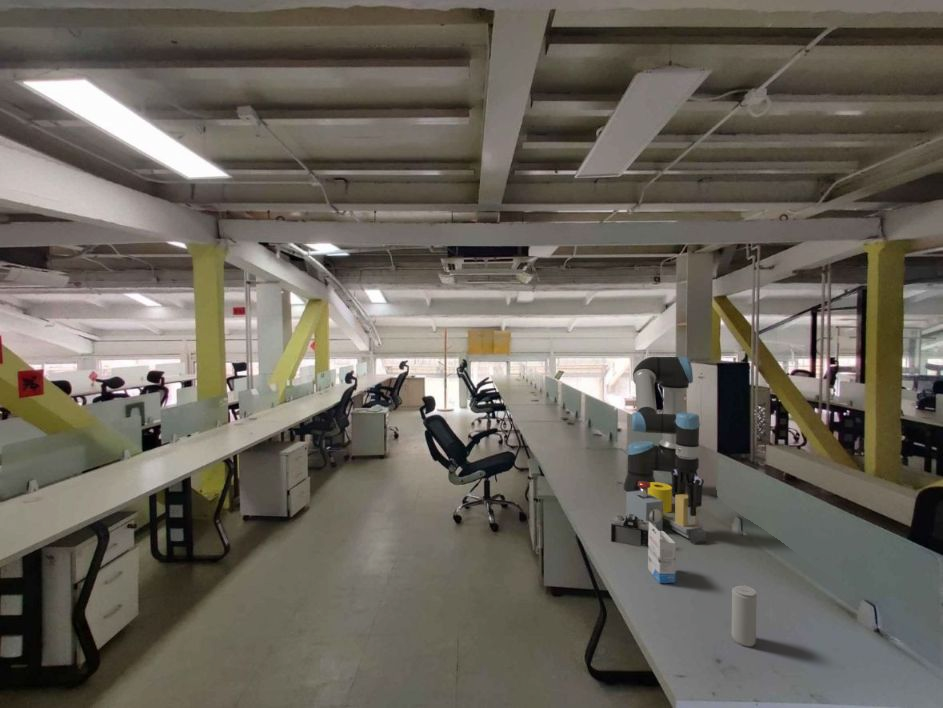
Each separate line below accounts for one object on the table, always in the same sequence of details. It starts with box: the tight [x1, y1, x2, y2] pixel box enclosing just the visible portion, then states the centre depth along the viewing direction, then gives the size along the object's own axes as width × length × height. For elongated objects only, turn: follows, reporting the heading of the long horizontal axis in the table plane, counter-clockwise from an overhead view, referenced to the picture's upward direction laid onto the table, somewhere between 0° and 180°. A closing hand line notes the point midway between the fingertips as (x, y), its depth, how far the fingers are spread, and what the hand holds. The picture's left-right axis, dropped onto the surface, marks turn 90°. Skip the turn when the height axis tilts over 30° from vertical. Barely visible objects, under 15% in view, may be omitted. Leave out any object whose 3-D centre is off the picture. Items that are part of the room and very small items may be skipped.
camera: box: [610, 514, 658, 549], centre depth 151 cm, size 16×9×10 cm, turn 64°
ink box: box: [647, 522, 677, 584], centre depth 129 cm, size 8×5×15 cm, turn 0°
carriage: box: [670, 493, 704, 539], centre depth 156 cm, size 7×8×13 cm
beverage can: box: [730, 584, 758, 647], centre depth 100 cm, size 5×5×12 cm
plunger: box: [638, 481, 650, 499], centre depth 164 cm, size 4×4×8 cm
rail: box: [662, 513, 707, 545], centre depth 161 cm, size 5×23×4 cm, turn 15°
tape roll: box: [648, 481, 673, 514], centre depth 181 cm, size 10×10×9 cm
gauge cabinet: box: [625, 491, 664, 531], centre depth 164 cm, size 7×13×11 cm, turn 15°
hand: (686, 521), depth 156 cm, fingers closed on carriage, 4 cm apart
